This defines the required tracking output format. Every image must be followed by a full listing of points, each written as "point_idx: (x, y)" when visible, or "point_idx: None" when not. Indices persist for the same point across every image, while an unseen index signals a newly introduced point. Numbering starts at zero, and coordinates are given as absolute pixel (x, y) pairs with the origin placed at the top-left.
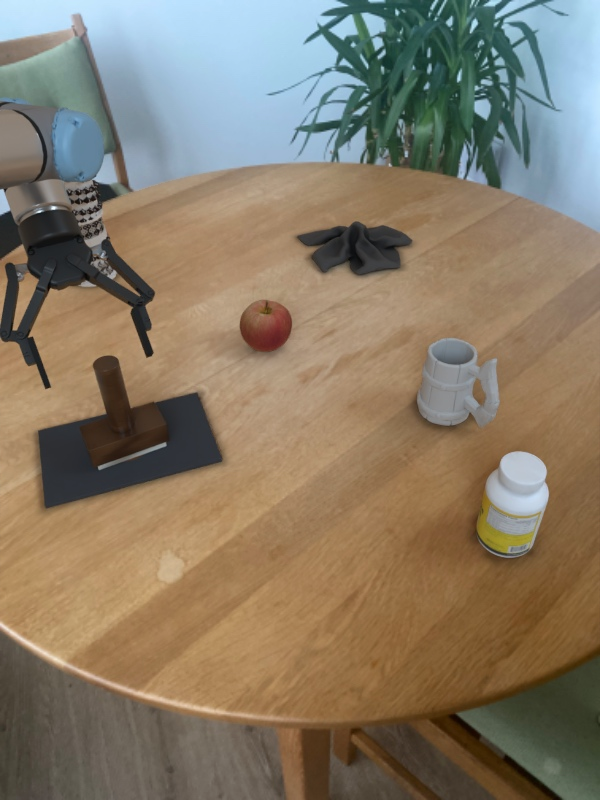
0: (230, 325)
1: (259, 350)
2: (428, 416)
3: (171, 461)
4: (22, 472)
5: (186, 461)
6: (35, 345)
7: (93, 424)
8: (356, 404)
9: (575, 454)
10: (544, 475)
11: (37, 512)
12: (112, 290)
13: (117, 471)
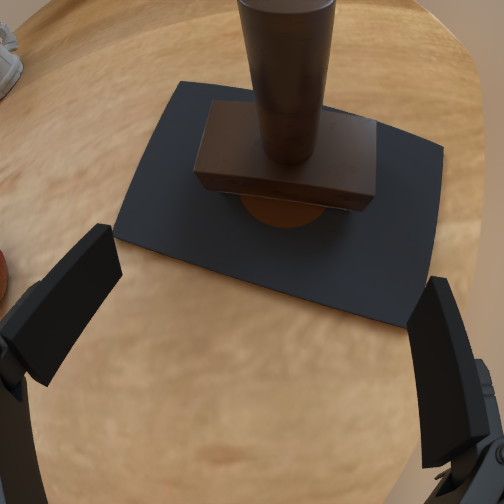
0: None
1: (4, 258)
2: (18, 69)
3: None
4: (458, 246)
5: (223, 96)
6: (467, 397)
7: (344, 181)
8: (25, 112)
9: (21, 28)
10: None
11: (451, 152)
12: (2, 450)
13: None
